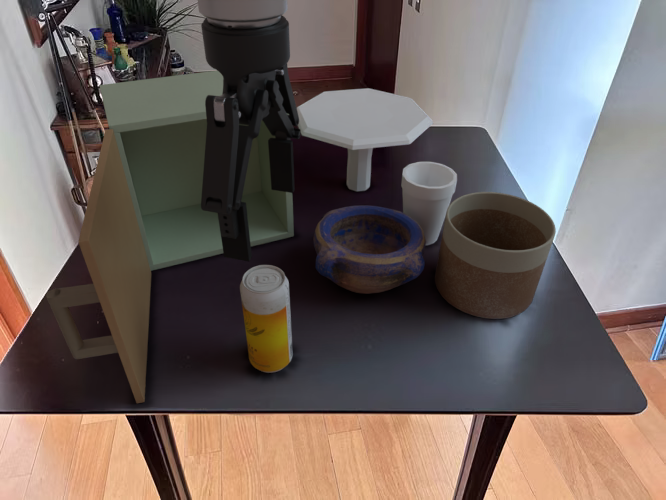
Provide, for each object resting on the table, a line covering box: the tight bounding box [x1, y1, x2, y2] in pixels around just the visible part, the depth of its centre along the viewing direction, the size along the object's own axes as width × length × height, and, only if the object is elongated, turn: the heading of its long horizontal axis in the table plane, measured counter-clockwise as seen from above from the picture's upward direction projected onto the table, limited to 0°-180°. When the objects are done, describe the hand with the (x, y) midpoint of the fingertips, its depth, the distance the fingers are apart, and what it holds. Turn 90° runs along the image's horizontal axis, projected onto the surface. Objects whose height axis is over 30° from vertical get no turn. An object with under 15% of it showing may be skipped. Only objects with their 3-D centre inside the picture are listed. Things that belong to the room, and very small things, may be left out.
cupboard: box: [99, 70, 295, 272], centre depth 90 cm, size 17×26×26 cm, turn 114°
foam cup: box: [400, 161, 458, 246], centre depth 93 cm, size 10×9×13 cm
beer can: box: [239, 264, 294, 374], centre depth 68 cm, size 6×6×15 cm
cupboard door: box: [45, 128, 152, 404], centre depth 68 cm, size 7×26×26 cm, turn 14°
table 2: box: [296, 87, 434, 192], centre depth 106 cm, size 28×28×17 cm
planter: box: [434, 191, 557, 320], centre depth 81 cm, size 16×16×14 cm
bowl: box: [312, 204, 427, 295], centre depth 84 cm, size 18×18×10 cm
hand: (262, 220), depth 57 cm, fingers open, 13 cm apart
